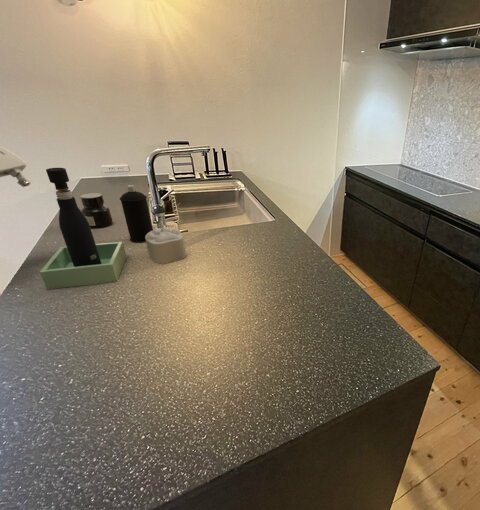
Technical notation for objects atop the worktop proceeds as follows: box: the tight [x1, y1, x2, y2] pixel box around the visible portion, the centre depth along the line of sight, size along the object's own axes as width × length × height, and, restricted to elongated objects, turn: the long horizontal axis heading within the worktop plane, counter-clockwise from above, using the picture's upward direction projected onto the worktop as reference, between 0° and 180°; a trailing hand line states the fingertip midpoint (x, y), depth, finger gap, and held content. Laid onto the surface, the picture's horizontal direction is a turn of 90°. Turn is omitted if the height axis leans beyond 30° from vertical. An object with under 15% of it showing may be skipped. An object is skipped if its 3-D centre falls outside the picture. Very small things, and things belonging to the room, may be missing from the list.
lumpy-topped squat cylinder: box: [145, 226, 187, 265], centre depth 104 cm, size 10×13×9 cm
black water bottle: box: [45, 167, 102, 267], centre depth 86 cm, size 6×6×30 cm
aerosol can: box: [119, 184, 154, 243], centre depth 111 cm, size 8×8×20 cm
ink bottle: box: [79, 192, 114, 229], centre depth 121 cm, size 10×9×12 cm
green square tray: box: [39, 241, 128, 291], centre depth 91 cm, size 16×16×6 cm
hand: (12, 189), depth 80 cm, fingers open, 8 cm apart
